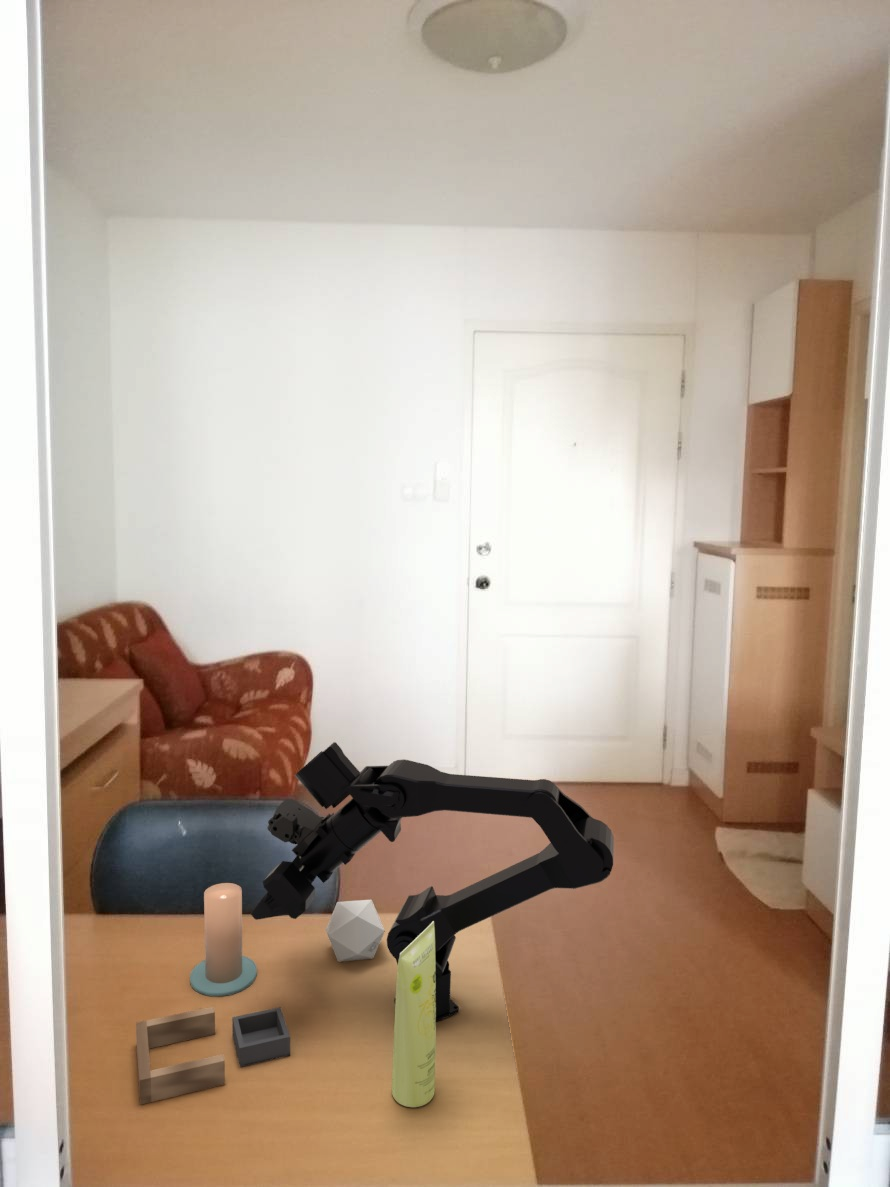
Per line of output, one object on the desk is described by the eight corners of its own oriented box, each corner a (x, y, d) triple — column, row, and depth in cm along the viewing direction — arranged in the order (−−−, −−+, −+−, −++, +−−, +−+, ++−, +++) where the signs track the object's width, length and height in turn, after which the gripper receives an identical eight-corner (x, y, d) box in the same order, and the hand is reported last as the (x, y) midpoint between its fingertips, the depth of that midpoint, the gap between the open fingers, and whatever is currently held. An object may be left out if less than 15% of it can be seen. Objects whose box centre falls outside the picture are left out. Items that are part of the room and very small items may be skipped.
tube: (440, 1109, 93) (445, 947, 90) (395, 1116, 92) (399, 952, 89) (429, 1074, 99) (434, 920, 96) (387, 1080, 98) (390, 924, 95)
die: (366, 982, 117) (400, 918, 120) (313, 952, 117) (348, 888, 119) (361, 969, 125) (392, 909, 128) (311, 941, 124) (344, 881, 127)
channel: (213, 1028, 106) (213, 1006, 105) (224, 1084, 96) (224, 1060, 96) (136, 1044, 102) (136, 1022, 102) (140, 1104, 93) (139, 1080, 92)
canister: (238, 983, 114) (237, 901, 112) (201, 983, 114) (199, 901, 112) (245, 962, 119) (245, 883, 117) (210, 961, 119) (209, 882, 117)
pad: (267, 982, 115) (267, 978, 115) (203, 1004, 110) (202, 1000, 110) (242, 951, 123) (242, 947, 123) (181, 970, 118) (181, 966, 117)
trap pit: (280, 1024, 107) (280, 1006, 106) (290, 1055, 101) (290, 1036, 101) (232, 1035, 104) (232, 1017, 104) (239, 1067, 99) (239, 1048, 99)
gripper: (329, 762, 119) (256, 826, 123) (279, 813, 101) (195, 887, 105) (381, 820, 119) (306, 883, 122) (340, 882, 101) (254, 954, 104)
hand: (267, 899), depth 113 cm, fingers open, 9 cm apart
